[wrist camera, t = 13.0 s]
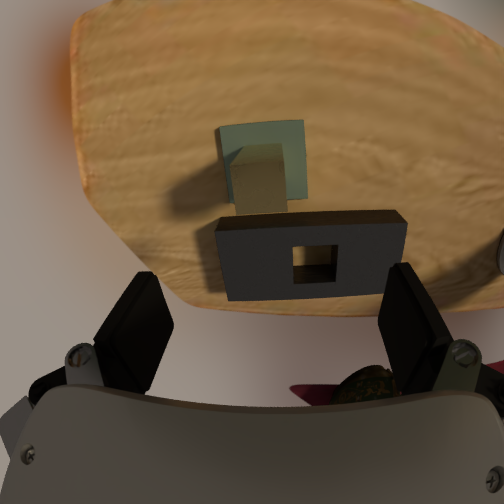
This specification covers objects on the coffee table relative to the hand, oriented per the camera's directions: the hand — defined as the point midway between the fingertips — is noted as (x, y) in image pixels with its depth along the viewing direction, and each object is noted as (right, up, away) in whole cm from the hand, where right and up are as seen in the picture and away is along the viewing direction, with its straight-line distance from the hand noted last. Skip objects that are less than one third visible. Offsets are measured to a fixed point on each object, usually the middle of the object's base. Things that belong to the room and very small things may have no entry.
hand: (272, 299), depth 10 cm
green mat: (+1, +12, +19) cm, 22 cm away
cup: (+22, -25, +39) cm, 52 cm away
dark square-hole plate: (+7, +2, +24) cm, 25 cm away
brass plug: (+1, +12, +18) cm, 22 cm away
